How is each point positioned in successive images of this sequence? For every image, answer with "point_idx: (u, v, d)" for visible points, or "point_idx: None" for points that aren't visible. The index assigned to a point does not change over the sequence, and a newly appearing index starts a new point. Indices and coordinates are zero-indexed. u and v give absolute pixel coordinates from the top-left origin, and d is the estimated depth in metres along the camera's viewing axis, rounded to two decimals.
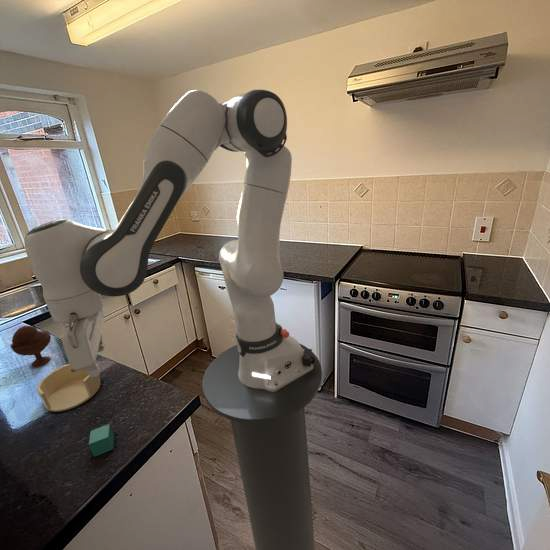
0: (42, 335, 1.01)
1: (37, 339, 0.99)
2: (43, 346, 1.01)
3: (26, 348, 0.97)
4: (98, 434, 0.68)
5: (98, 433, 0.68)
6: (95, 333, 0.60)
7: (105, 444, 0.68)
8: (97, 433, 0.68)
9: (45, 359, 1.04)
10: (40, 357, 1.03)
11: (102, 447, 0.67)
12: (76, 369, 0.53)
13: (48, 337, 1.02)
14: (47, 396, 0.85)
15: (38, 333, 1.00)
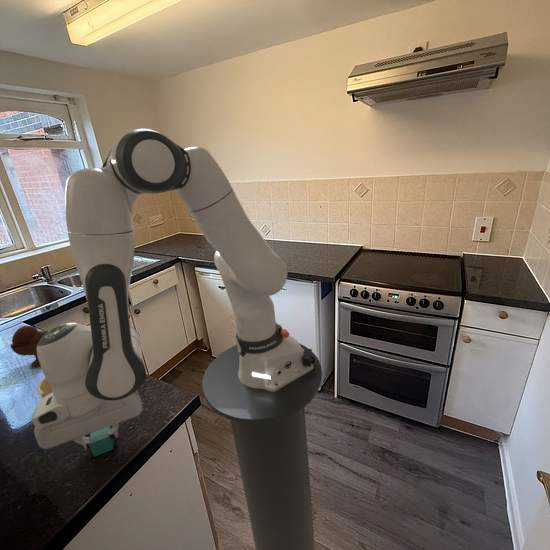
0: (42, 335, 1.01)
1: (37, 339, 0.99)
2: None
3: (26, 348, 0.97)
4: (98, 434, 0.68)
5: (98, 433, 0.68)
6: None
7: (105, 444, 0.68)
8: (97, 433, 0.68)
9: None
10: None
11: (102, 447, 0.67)
12: (141, 410, 0.70)
13: None
14: None
15: (38, 333, 1.00)
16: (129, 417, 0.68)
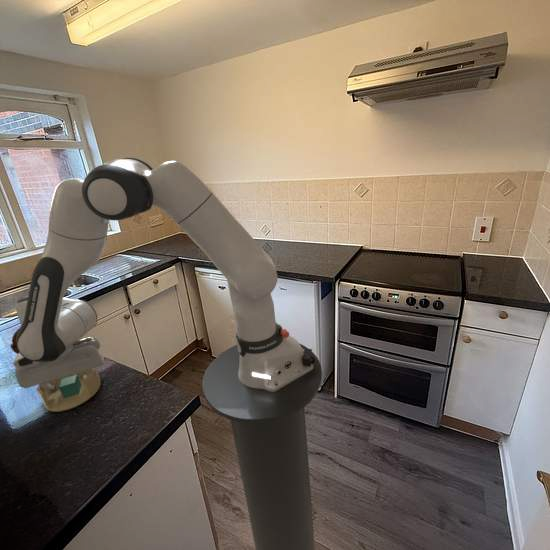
0: None
1: None
2: None
3: None
4: (67, 381, 0.86)
5: (67, 380, 0.86)
6: None
7: (72, 388, 0.85)
8: (66, 380, 0.86)
9: None
10: None
11: (70, 391, 0.85)
12: None
13: None
14: (47, 396, 0.85)
15: None
16: (92, 366, 0.86)
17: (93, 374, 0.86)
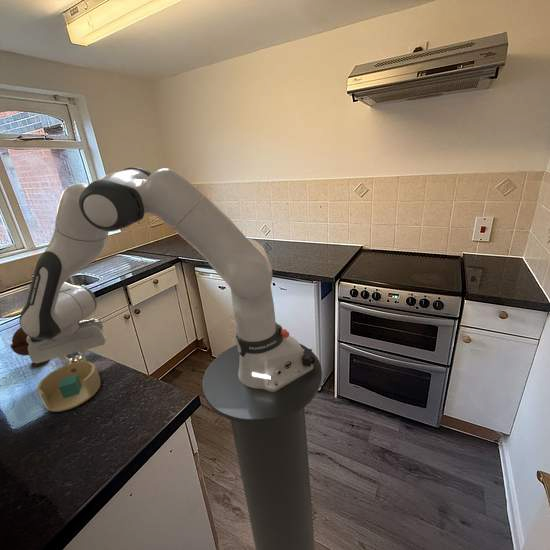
0: None
1: None
2: None
3: (26, 348, 0.97)
4: (67, 381, 0.86)
5: (67, 380, 0.86)
6: None
7: (72, 388, 0.85)
8: (66, 380, 0.86)
9: None
10: None
11: (70, 391, 0.85)
12: (105, 341, 0.97)
13: None
14: (47, 396, 0.85)
15: None
16: (96, 345, 0.96)
17: (93, 374, 0.86)
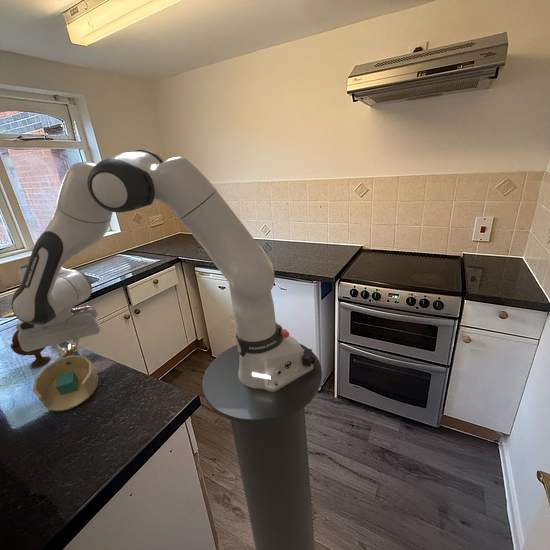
0: None
1: None
2: None
3: None
4: (64, 379, 0.84)
5: (64, 378, 0.84)
6: None
7: (70, 387, 0.84)
8: (63, 378, 0.84)
9: (45, 359, 1.04)
10: (40, 357, 1.03)
11: (68, 389, 0.84)
12: (99, 330, 0.93)
13: None
14: (44, 392, 0.84)
15: None
16: (90, 334, 0.92)
17: (91, 374, 0.84)
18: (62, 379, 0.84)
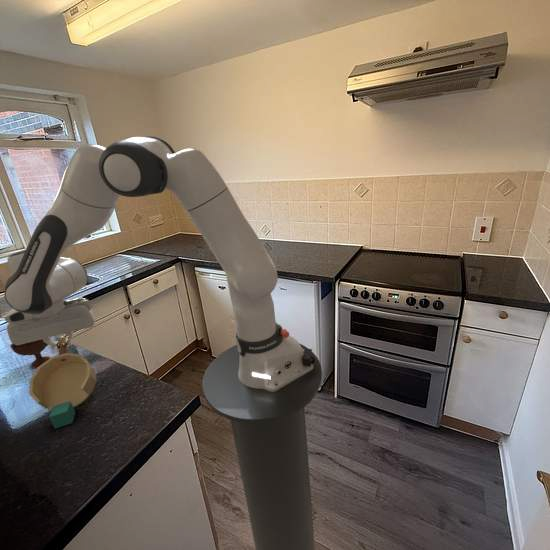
0: None
1: None
2: (43, 346, 1.01)
3: (26, 348, 0.97)
4: (60, 420, 0.76)
5: (60, 420, 0.76)
6: None
7: None
8: (58, 419, 0.76)
9: (45, 359, 1.04)
10: (40, 357, 1.03)
11: None
12: (94, 323, 0.89)
13: None
14: (40, 390, 0.82)
15: None
16: (83, 327, 0.87)
17: (89, 377, 0.82)
18: (58, 420, 0.76)
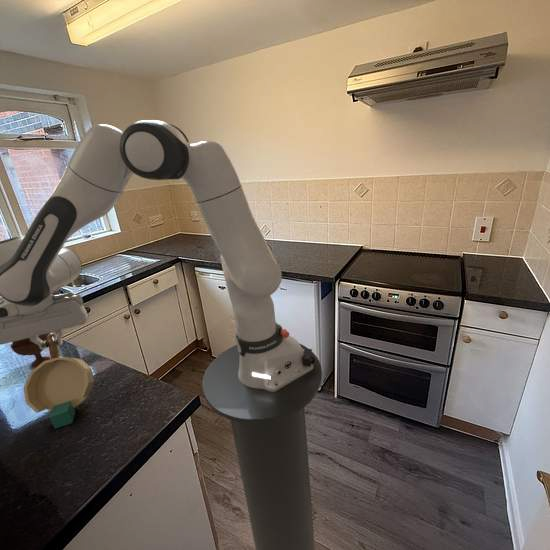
0: (42, 335, 1.01)
1: None
2: None
3: (26, 348, 0.97)
4: (60, 420, 0.76)
5: (60, 420, 0.76)
6: None
7: None
8: (58, 419, 0.76)
9: (45, 359, 1.04)
10: (40, 357, 1.03)
11: None
12: (86, 320, 0.81)
13: None
14: (35, 391, 0.80)
15: None
16: (74, 324, 0.80)
17: (88, 384, 0.80)
18: (58, 420, 0.76)
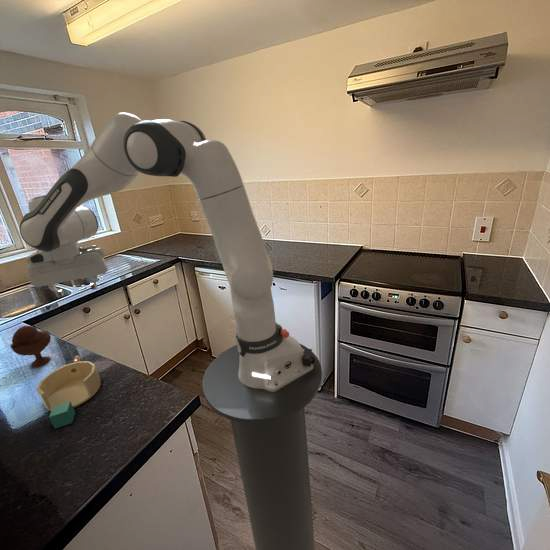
0: (42, 335, 1.01)
1: (37, 339, 0.99)
2: (43, 346, 1.01)
3: (26, 348, 0.97)
4: (60, 420, 0.76)
5: (60, 420, 0.76)
6: None
7: None
8: (58, 419, 0.76)
9: (45, 359, 1.04)
10: (40, 357, 1.03)
11: None
12: (106, 271, 0.95)
13: (48, 337, 1.02)
14: (47, 396, 0.85)
15: (38, 333, 1.00)
16: (97, 273, 0.94)
17: (93, 374, 0.86)
18: (58, 420, 0.76)
